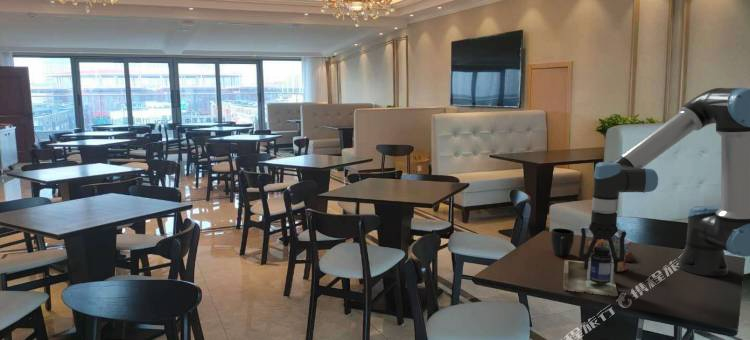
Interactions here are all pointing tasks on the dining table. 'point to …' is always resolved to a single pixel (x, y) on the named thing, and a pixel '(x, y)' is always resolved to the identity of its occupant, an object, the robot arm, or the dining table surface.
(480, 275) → the dining table surface
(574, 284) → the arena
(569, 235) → the mug
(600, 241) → the pastry
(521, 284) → the dining table surface
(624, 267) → the mug
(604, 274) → the pill bottle
